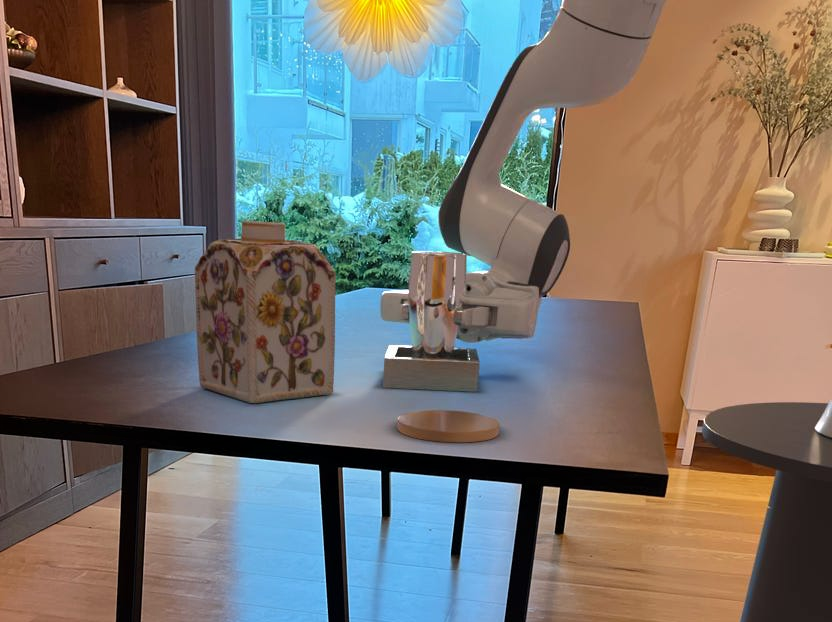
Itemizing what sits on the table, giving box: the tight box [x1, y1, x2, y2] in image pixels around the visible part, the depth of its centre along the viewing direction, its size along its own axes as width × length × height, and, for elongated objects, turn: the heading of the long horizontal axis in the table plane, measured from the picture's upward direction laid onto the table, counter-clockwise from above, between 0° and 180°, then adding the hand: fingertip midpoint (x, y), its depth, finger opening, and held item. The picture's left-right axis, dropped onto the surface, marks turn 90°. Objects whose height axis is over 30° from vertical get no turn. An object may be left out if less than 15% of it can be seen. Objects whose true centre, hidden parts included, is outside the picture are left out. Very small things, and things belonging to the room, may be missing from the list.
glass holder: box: [382, 344, 481, 393], centre depth 113 cm, size 11×11×4 cm
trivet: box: [397, 409, 501, 443], centre depth 88 cm, size 10×10×1 cm
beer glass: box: [407, 250, 468, 360], centre depth 110 cm, size 7×7×15 cm
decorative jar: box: [194, 220, 337, 405], centre depth 100 cm, size 12×12×18 cm
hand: (431, 315), depth 109 cm, fingers closed on beer glass, 6 cm apart
